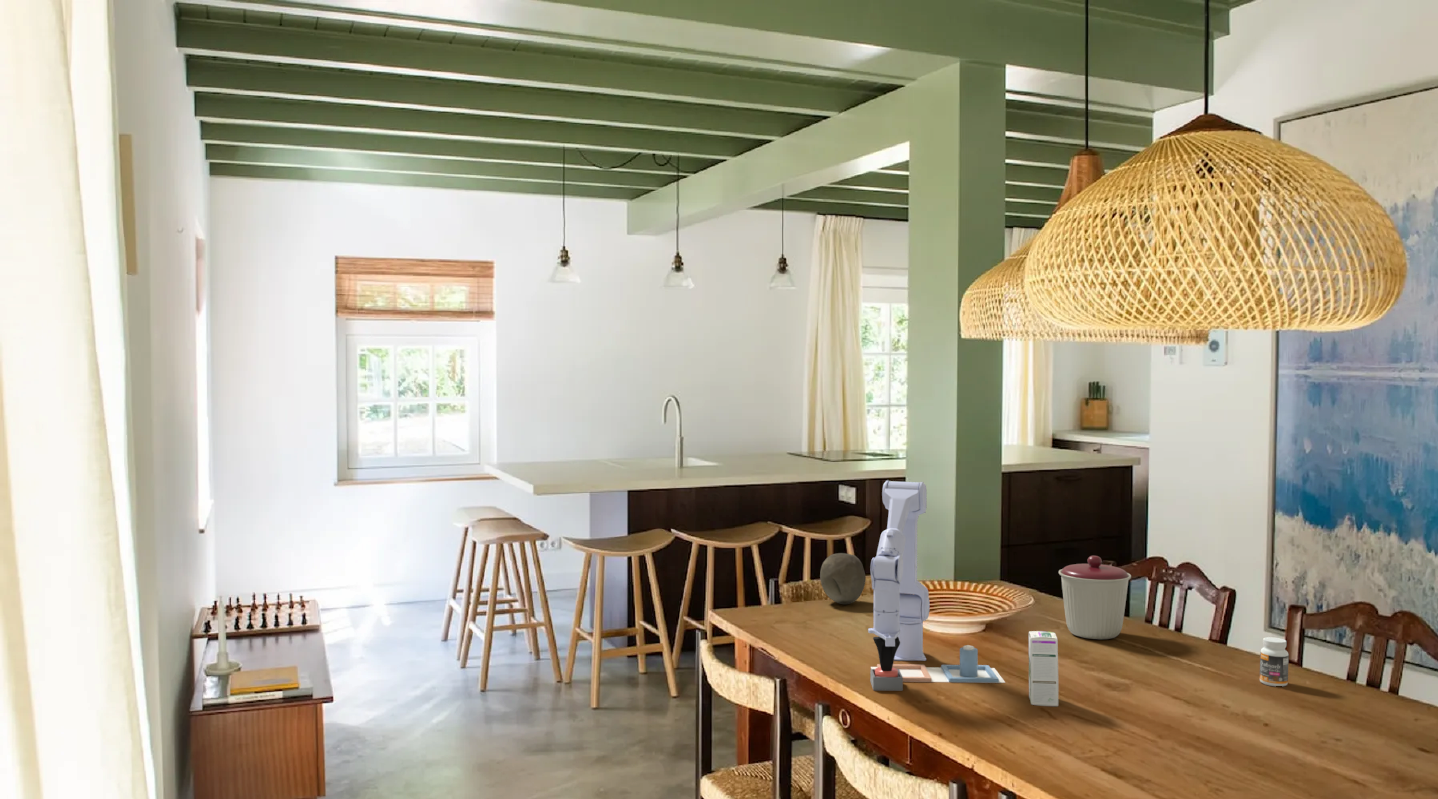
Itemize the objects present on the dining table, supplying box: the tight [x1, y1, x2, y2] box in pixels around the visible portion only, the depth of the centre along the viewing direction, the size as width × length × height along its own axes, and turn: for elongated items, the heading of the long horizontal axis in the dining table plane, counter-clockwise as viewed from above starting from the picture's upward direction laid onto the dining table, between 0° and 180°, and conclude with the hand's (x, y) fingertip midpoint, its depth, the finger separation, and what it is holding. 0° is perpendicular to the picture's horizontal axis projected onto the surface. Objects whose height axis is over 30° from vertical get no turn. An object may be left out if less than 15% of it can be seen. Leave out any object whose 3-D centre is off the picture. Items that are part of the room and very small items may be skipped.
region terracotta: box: [876, 663, 932, 683], centre depth 246 cm, size 11×11×1 cm
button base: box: [869, 668, 904, 692], centre depth 237 cm, size 6×6×3 cm
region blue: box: [940, 664, 999, 683], centre depth 246 cm, size 11×11×1 cm
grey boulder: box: [819, 552, 867, 605], centre depth 321 cm, size 14×14×15 cm
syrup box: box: [1028, 630, 1059, 707], centre depth 226 cm, size 6×6×14 cm
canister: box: [1058, 555, 1132, 640], centre depth 282 cm, size 18×18×21 cm
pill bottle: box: [1259, 636, 1290, 687], centre depth 239 cm, size 6×6×10 cm
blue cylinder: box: [959, 644, 979, 677], centre depth 246 cm, size 4×4×7 cm
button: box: [875, 667, 898, 677], centre depth 237 cm, size 5×5×2 cm
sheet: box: [870, 666, 1006, 684], centre depth 246 cm, size 12×29×1 cm, turn 88°
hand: (886, 670), depth 237 cm, fingers closed, pressing on button
